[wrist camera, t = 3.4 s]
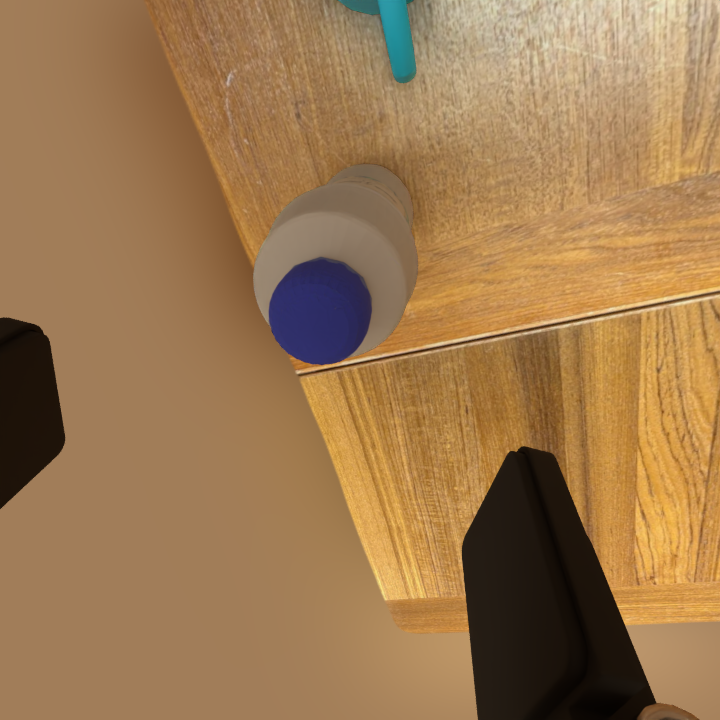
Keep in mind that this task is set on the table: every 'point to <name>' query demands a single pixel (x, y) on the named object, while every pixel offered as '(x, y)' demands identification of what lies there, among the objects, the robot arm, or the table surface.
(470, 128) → the table surface
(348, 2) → the mug
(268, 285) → the bottle
